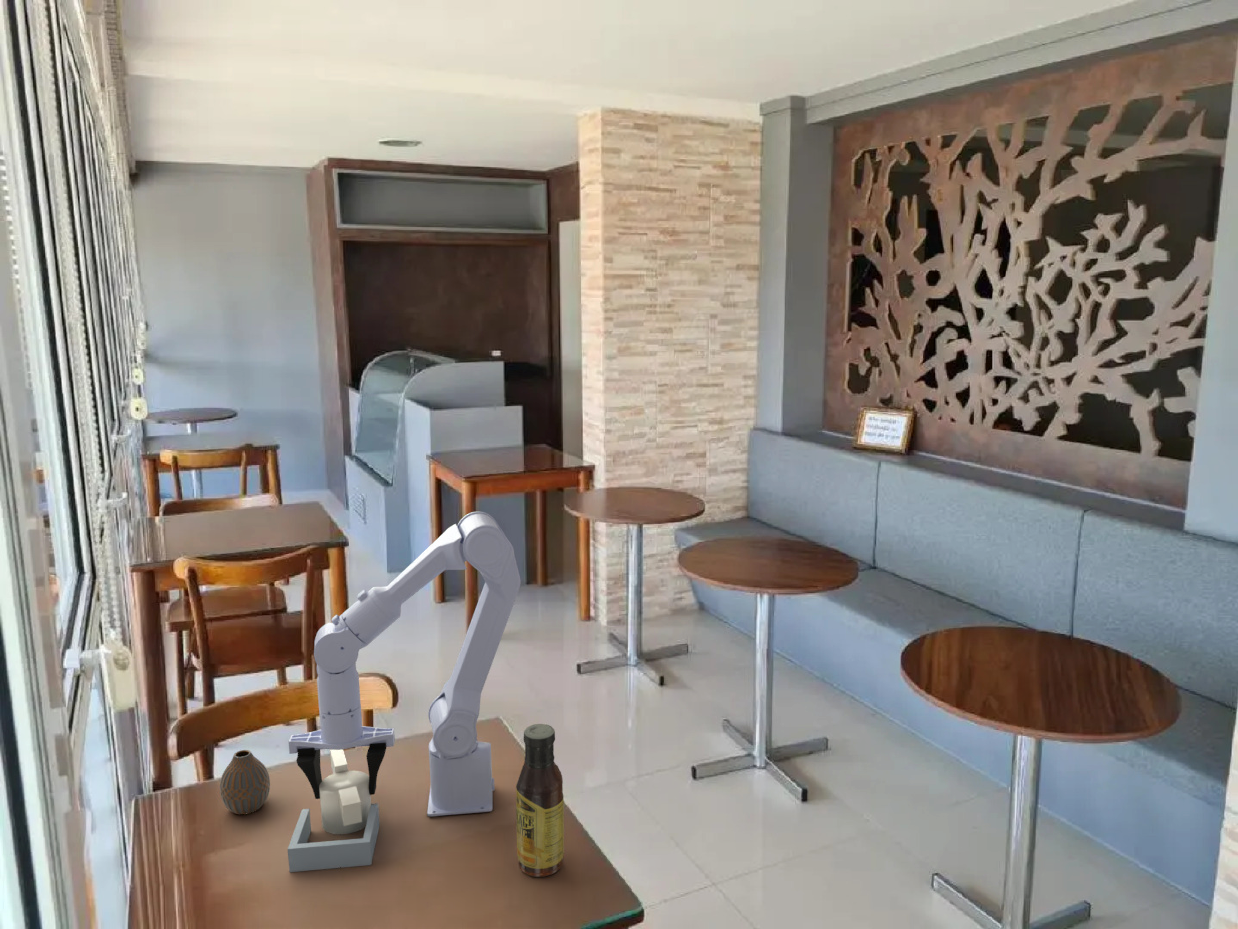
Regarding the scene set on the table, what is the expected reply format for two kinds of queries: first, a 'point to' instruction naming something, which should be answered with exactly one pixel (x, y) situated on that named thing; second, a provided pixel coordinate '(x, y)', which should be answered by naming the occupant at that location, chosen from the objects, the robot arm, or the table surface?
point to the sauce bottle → (540, 805)
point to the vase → (244, 783)
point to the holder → (331, 846)
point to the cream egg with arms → (344, 797)
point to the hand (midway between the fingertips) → (346, 793)
